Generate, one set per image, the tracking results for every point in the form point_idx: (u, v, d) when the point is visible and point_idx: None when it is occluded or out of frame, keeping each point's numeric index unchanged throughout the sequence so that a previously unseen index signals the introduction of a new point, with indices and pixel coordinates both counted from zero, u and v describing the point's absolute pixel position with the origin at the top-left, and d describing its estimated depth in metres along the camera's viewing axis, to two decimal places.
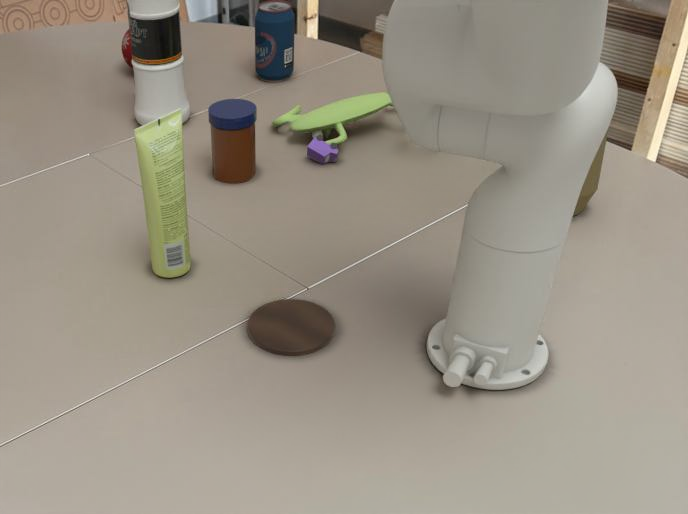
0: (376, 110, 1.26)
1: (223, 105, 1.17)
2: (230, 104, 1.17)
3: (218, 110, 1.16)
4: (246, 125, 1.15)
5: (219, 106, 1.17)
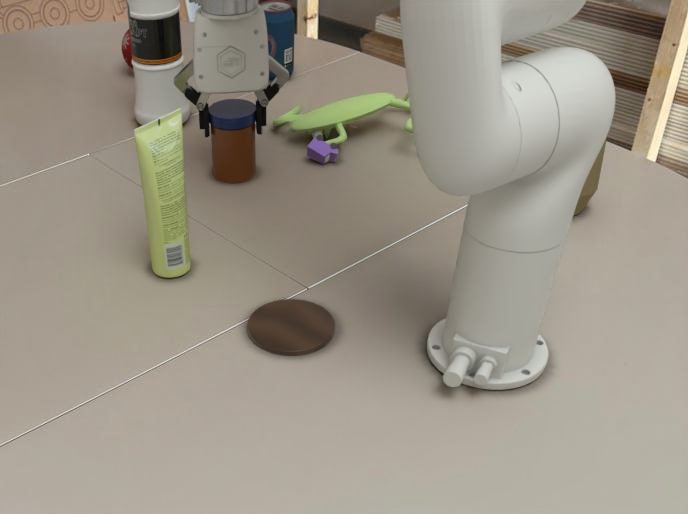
0: (376, 110, 1.26)
1: (223, 105, 1.17)
2: (230, 104, 1.17)
3: (218, 110, 1.16)
4: (246, 125, 1.15)
5: (219, 106, 1.17)
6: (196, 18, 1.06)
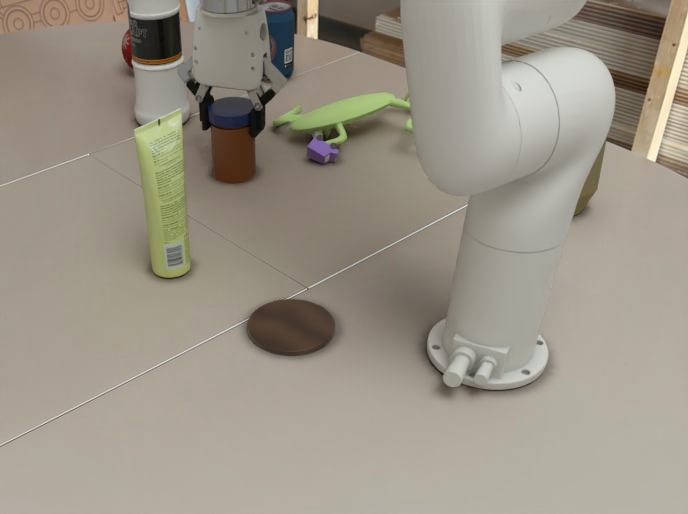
0: (376, 110, 1.26)
1: (236, 111, 1.15)
2: (229, 110, 1.15)
3: (245, 107, 1.16)
4: None
5: (241, 110, 1.15)
6: None
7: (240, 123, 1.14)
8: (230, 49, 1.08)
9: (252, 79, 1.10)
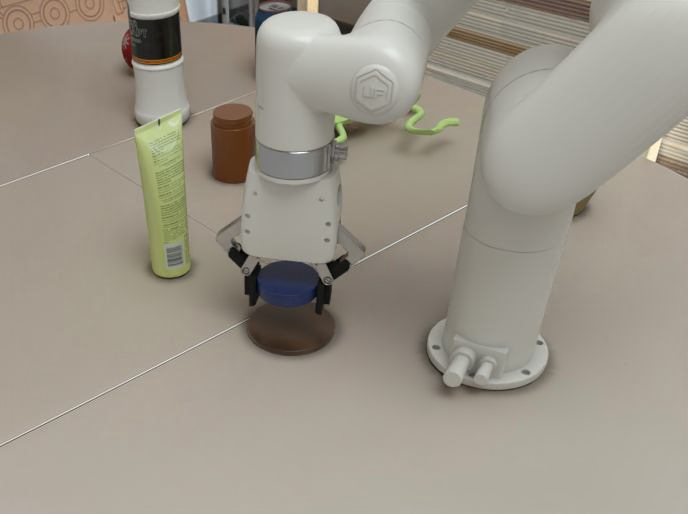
0: None
1: (297, 284, 0.89)
2: (287, 284, 0.89)
3: (306, 277, 0.90)
4: None
5: (303, 284, 0.89)
6: (338, 165, 0.81)
7: (304, 300, 0.88)
8: (297, 218, 0.82)
9: (324, 252, 0.84)
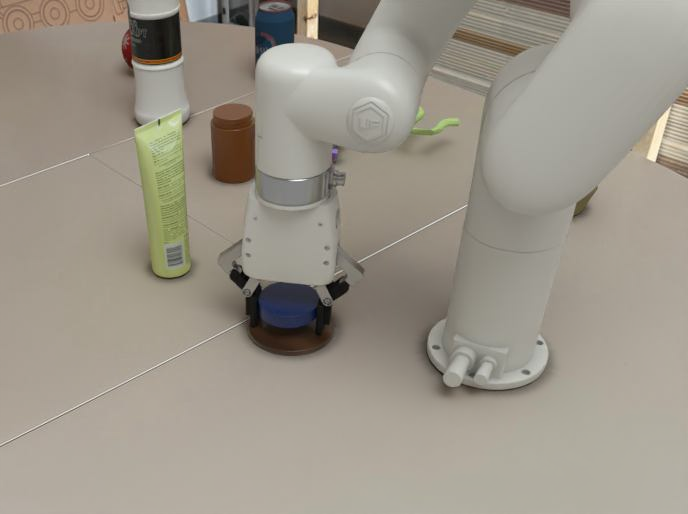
0: None
1: (297, 305, 0.91)
2: (288, 305, 0.91)
3: (306, 298, 0.92)
4: None
5: (303, 305, 0.91)
6: (336, 190, 0.83)
7: (305, 321, 0.90)
8: (297, 242, 0.84)
9: (324, 274, 0.86)
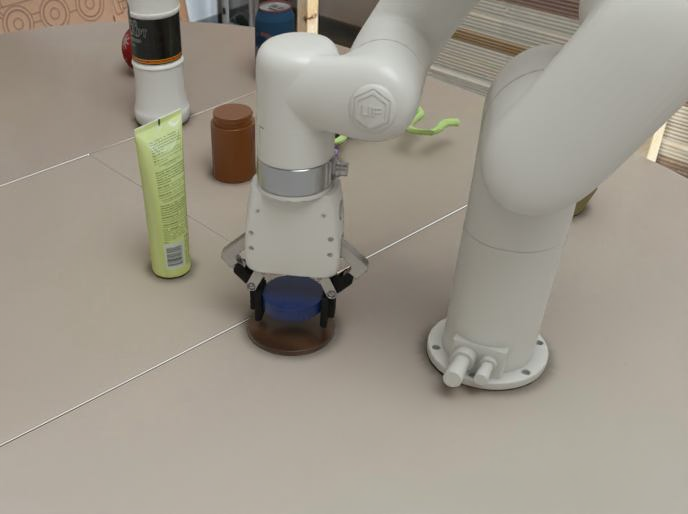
0: None
1: (302, 299, 0.90)
2: (292, 299, 0.90)
3: (311, 291, 0.91)
4: None
5: (307, 298, 0.90)
6: None
7: (309, 314, 0.89)
8: (300, 234, 0.83)
9: (328, 266, 0.85)
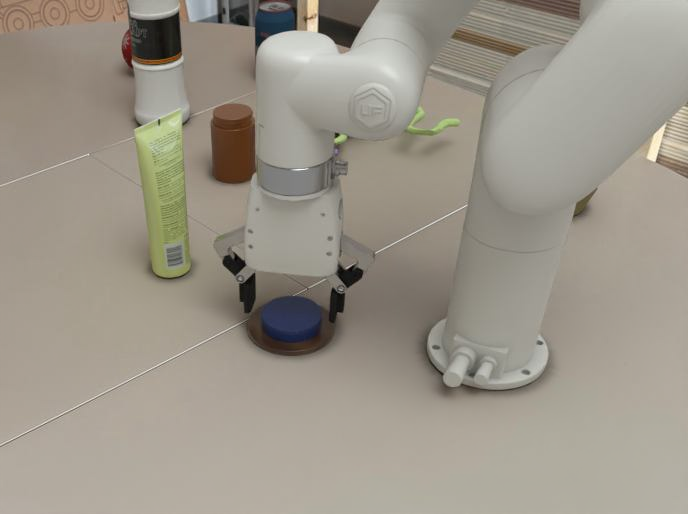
0: None
1: (300, 320, 0.92)
2: (291, 320, 0.92)
3: (309, 312, 0.93)
4: None
5: (306, 319, 0.92)
6: (339, 180, 0.82)
7: (308, 335, 0.92)
8: (299, 233, 0.83)
9: (327, 265, 0.85)
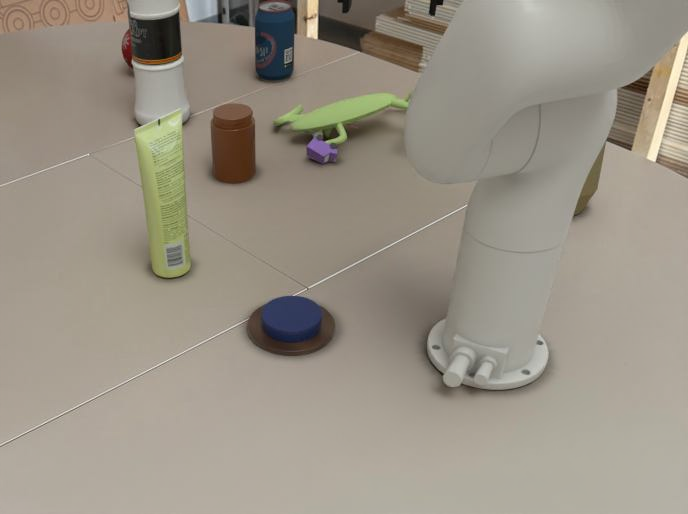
0: (377, 110, 1.26)
1: (300, 320, 0.92)
2: (291, 320, 0.92)
3: (309, 312, 0.93)
4: None
5: (306, 319, 0.92)
6: None
7: (308, 335, 0.92)
8: None
9: None
